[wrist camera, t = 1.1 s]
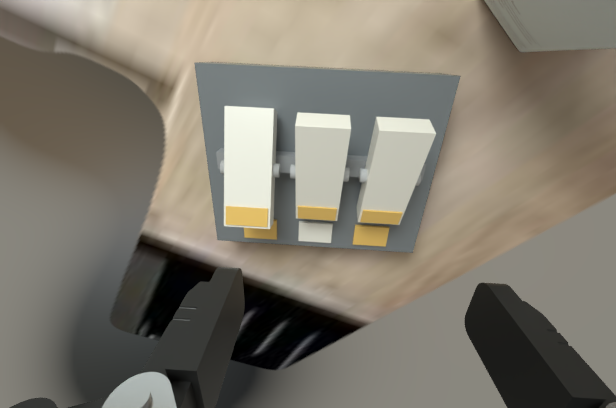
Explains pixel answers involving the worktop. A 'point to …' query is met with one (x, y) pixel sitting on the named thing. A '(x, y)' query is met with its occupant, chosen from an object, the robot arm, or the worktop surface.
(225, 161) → the rocker
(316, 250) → the worktop surface
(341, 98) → the console
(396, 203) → the rocker
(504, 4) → the supplement box
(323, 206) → the rocker mid
